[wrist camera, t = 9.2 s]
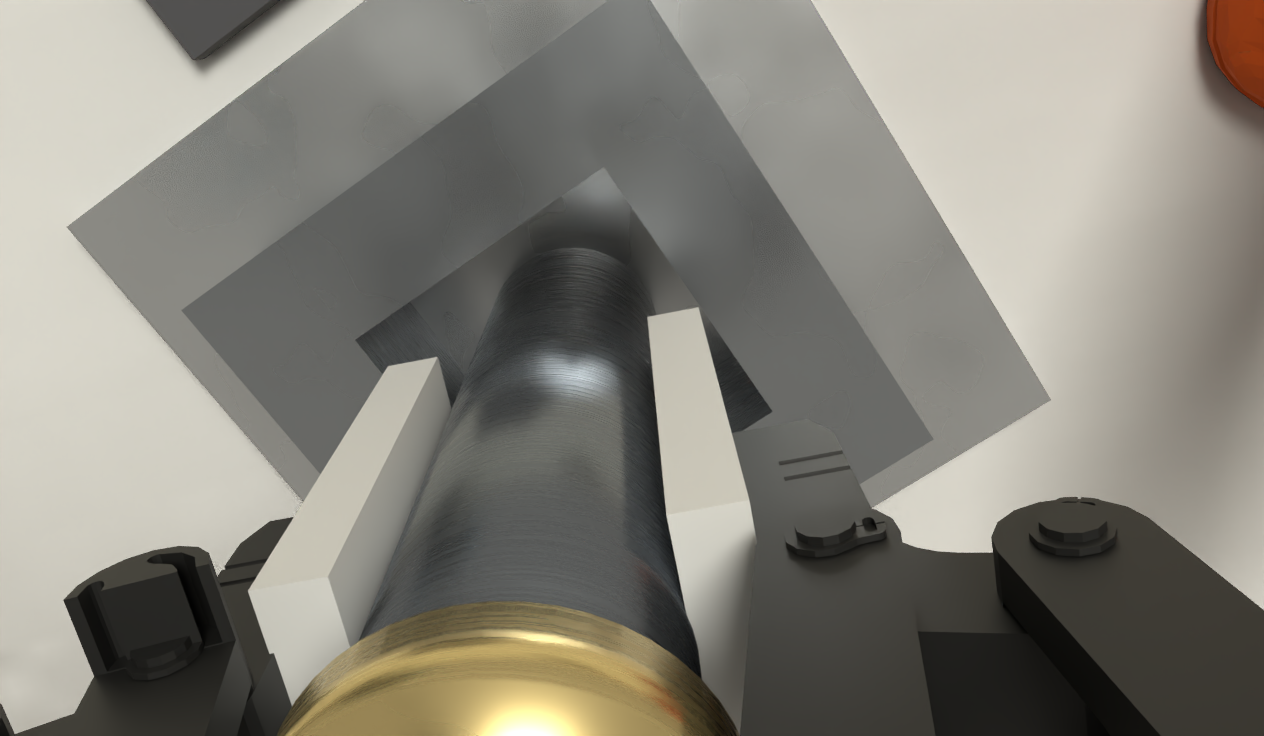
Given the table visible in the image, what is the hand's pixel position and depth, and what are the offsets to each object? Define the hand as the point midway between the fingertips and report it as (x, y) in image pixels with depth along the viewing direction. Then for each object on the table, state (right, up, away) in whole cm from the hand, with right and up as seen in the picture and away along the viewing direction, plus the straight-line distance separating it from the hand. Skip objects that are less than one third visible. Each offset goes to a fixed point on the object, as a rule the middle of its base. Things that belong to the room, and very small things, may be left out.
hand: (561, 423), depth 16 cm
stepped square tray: (0, +2, +6) cm, 7 cm away
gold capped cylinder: (0, +2, +5) cm, 5 cm away
